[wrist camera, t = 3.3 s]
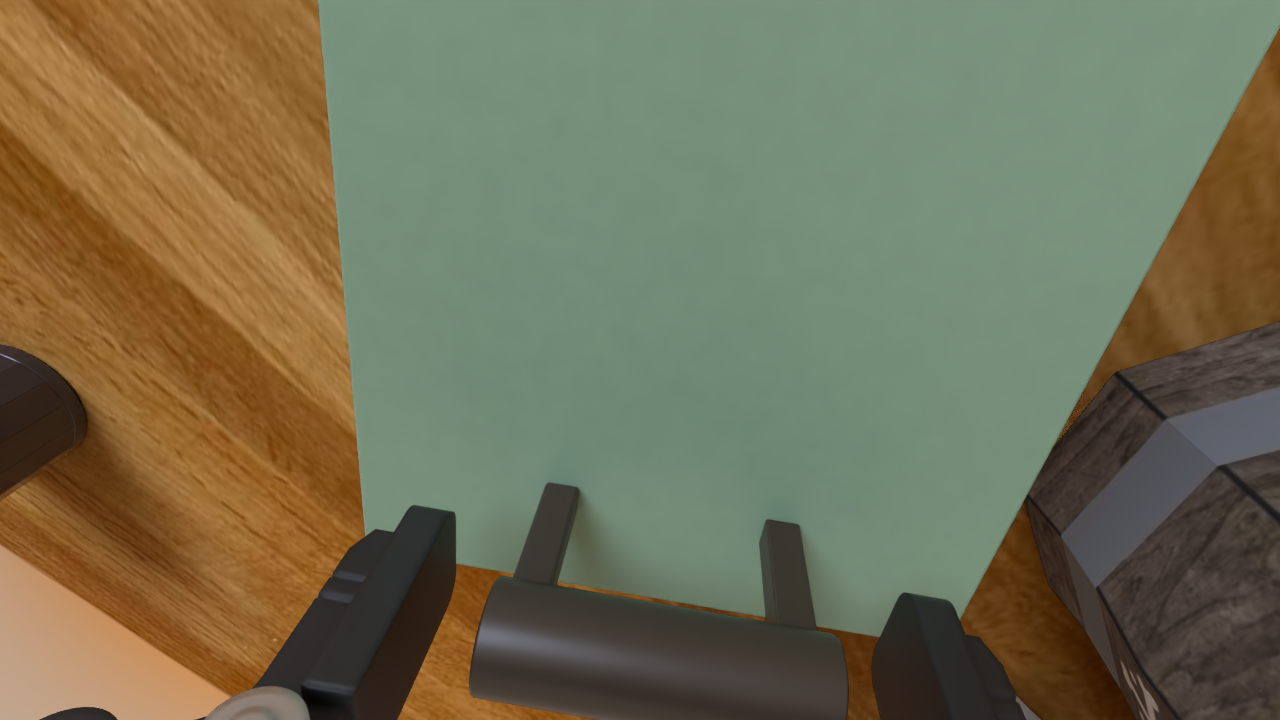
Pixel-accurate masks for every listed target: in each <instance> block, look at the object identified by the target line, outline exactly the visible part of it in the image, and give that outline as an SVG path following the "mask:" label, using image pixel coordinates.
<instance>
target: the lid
mask: <svg viewBox="0 0 1280 720" xmlns="http://www.w3.org/2000/svg"><path fill="white" fill-rule="evenodd" d="M318 7H319V18H320V29H321V40H322V52H323V63H324V74H325V86H326V97H327V108H328V119H329V131H330V142H331V153H332V165H333V176H334V187H335V198H336V210H337V221H338V232H339V244H340V255H341V266H342V277H343V289H344V300H345V311H346V323H347V334H348V345H349V356H350V368H351V379H352V390H353V401H354V413H355V424H356V435H357V447H358V458H359V469H360V480H361V492H362V503H363V514H364V526H365V536H367V535H368V534H369V533H371V532H372V531H373V530H375V529H379V530H385V531H391V532H394V531H395V529H396V528H397V526H398V524H399V523H400V521H401V519H402V518H403V516H404V515H405V513H406V511H407V510H408V509H409V507H410V506H412V505H419V506H424V507H430V508H436V509H442V510H447V511H453V512H454V513H455V515H456V564H461V565H466V566H472V567H478V568H484V569H489V570H495V571H501V572H507V573H512V574H514V576H513V578H511V577H506V576H500V577H498V578H497V580H496V581H495V583H494V584H493V586H492V588H491V591H490V593H489V595H488V598H487V601H486V603H485V606H484V609H483V613H482V616H481V620H480V623H479V627H478V631H477V635H476V639H475V644H474V649H473V654H472V660H471V667H470V676H469V689H470V694H471V696H472V697H474V698H479V699H484V700H490V701H495V702H501V703H507V704H512V705H518V706H524V707H529V708H535V709H540V710H546V711H552V712H557V713H563V714H568V715H574V716H580V717H585V718H591V719H597V720H847V715H848V701H849V684H848V671H847V664H846V658H845V654H844V650H843V647H842V645H841V642H840V640H839V639H838V638H837V636H835V635H834V634H832V633H828V632H822V631H817V626H818V627H823V628H829V629H835V630H841V631H846V632H852V633H858V634H864V635H869V636H875V637H880V636H881V633H882V631H883V629H884V627H885V625H886V623H887V620H888V618H889V616H890V614H891V612H892V610H893V607H894V605H895V603H896V601H897V599H898V597H899V596H900V595H901V594H902V593H904V592H906V593H912V594H918V595H923V596H929V597H935V598H940V599H946V600H949V601H950V602H951V603H952V604H953V606H954V608H955V610H956V612H957V615H958V617H959V620H960V619H961V617H962V615H963V613H964V611H965V609H966V608H967V606H968V604H969V602H970V600H971V598H972V596H973V595H974V593H975V591H976V589H977V587H978V585H979V583H980V582H981V580H982V578H983V576H984V574H985V572H986V571H987V569H988V567H989V565H990V563H991V561H992V559H993V558H994V556H995V554H996V552H997V550H998V548H999V546H1000V545H1001V543H1002V541H1003V539H1004V537H1005V535H1006V533H1007V532H1008V530H1009V528H1010V526H1011V524H1012V522H1013V521H1014V519H1015V517H1016V515H1017V513H1018V511H1019V509H1020V508H1021V506H1022V504H1023V502H1024V500H1025V498H1026V496H1027V495H1028V493H1029V491H1030V489H1031V487H1032V485H1033V483H1034V482H1035V480H1036V478H1037V476H1038V474H1039V472H1040V471H1041V469H1042V467H1043V465H1044V463H1045V461H1046V459H1047V458H1048V456H1049V454H1050V452H1051V450H1052V448H1053V446H1054V445H1055V443H1056V441H1057V439H1058V437H1059V435H1060V433H1061V432H1062V430H1063V428H1064V426H1065V424H1066V422H1067V421H1068V419H1069V417H1070V415H1071V413H1072V411H1073V409H1074V408H1075V406H1076V404H1077V402H1078V400H1079V398H1080V396H1081V395H1082V393H1083V391H1084V389H1085V387H1086V385H1087V383H1088V382H1089V380H1090V378H1091V376H1092V374H1093V372H1094V371H1095V369H1096V367H1097V365H1098V363H1099V361H1100V359H1101V358H1102V356H1103V354H1104V352H1105V350H1106V348H1107V346H1108V345H1109V343H1110V341H1111V339H1112V337H1113V335H1114V333H1115V332H1116V330H1117V328H1118V326H1119V324H1120V322H1121V321H1122V319H1123V317H1124V315H1125V313H1126V311H1127V309H1128V308H1129V306H1130V304H1131V302H1132V300H1133V298H1134V296H1135V295H1136V293H1137V291H1138V289H1139V287H1140V285H1141V283H1142V282H1143V280H1144V278H1145V276H1146V274H1147V272H1148V271H1149V269H1150V267H1151V265H1152V263H1153V261H1154V259H1155V258H1156V256H1157V254H1158V252H1159V250H1160V248H1161V246H1162V245H1163V243H1164V241H1165V239H1166V237H1167V235H1168V234H1169V232H1170V230H1171V228H1172V226H1173V224H1174V222H1175V221H1176V219H1177V217H1178V215H1179V213H1180V211H1181V209H1182V208H1183V206H1184V204H1185V202H1186V200H1187V198H1188V196H1189V195H1190V193H1191V191H1192V189H1193V187H1194V185H1195V184H1196V182H1197V180H1198V178H1199V176H1200V174H1201V172H1202V171H1203V169H1204V167H1205V165H1206V163H1207V161H1208V159H1209V158H1210V156H1211V154H1212V152H1213V150H1214V148H1215V146H1216V145H1217V143H1218V141H1219V139H1220V137H1221V135H1222V134H1223V132H1224V130H1225V128H1226V126H1227V124H1228V122H1229V121H1230V119H1231V117H1232V115H1233V113H1234V111H1235V109H1236V108H1237V106H1238V104H1239V102H1240V100H1241V98H1242V96H1243V95H1244V93H1245V91H1246V89H1247V87H1248V85H1249V84H1250V82H1251V80H1252V78H1253V76H1254V74H1255V72H1256V71H1257V69H1258V67H1259V65H1260V63H1261V61H1262V59H1263V58H1264V56H1265V54H1266V52H1267V50H1268V48H1269V46H1270V45H1271V43H1272V41H1273V39H1274V37H1275V35H1276V34H1277V32H1278V30H1279V28H1280V0H318ZM558 581H559V582H564V583H570V584H576V585H582V586H587V587H593V588H599V589H605V590H610V591H616V592H622V593H628V594H633V595H639V596H645V597H651V598H656V599H662V600H668V601H674V602H679V603H685V604H691V605H697V606H702V607H708V608H714V609H720V610H725V611H731V612H737V613H743V614H748V615H754V616H760V617H766V622H764V621H759V620H753V619H747V618H741V617H736V616H730V615H724V614H718V613H713V612H707V611H701V610H695V609H690V608H684V607H678V606H672V605H667V604H661V603H655V602H649V601H644V600H638V599H632V598H626V597H621V596H615V595H609V594H603V593H598V592H592V591H586V590H580V589H575V588H569V587H563V586H557V583H558Z"/></svg>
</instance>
